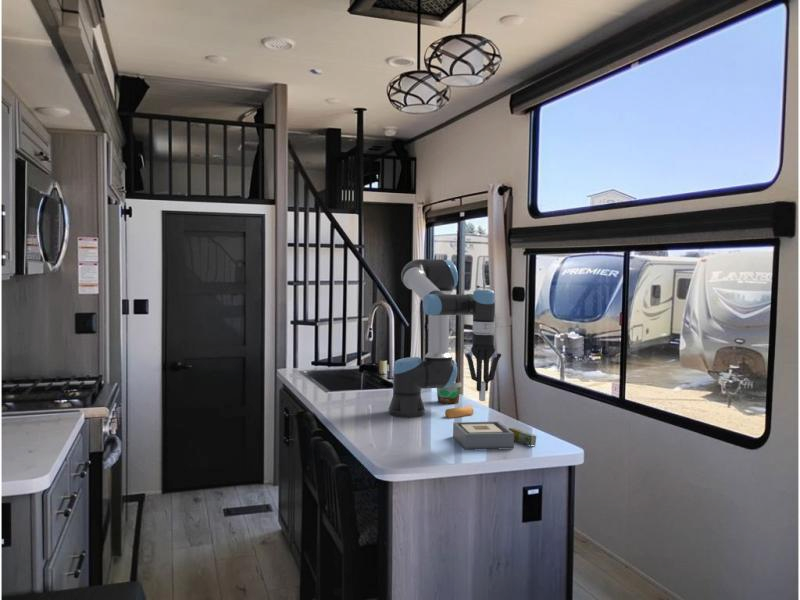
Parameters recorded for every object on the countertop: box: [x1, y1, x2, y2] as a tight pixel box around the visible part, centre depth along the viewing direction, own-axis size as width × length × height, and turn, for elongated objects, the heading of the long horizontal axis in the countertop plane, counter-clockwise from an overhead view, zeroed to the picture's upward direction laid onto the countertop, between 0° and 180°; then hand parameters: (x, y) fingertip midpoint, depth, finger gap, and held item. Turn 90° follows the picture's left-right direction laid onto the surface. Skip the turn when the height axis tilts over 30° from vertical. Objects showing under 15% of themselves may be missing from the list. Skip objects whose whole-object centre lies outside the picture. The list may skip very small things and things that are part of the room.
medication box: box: [508, 427, 537, 446], centre depth 226 cm, size 12×3×4 cm, turn 32°
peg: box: [444, 405, 474, 419], centre depth 264 cm, size 4×4×12 cm
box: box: [452, 420, 515, 451], centre depth 224 cm, size 17×17×6 cm
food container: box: [436, 381, 463, 405], centre depth 288 cm, size 12×6×10 cm, turn 76°
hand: (482, 400), depth 225 cm, fingers closed
